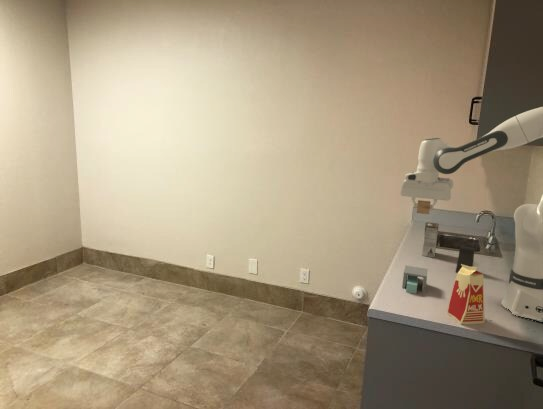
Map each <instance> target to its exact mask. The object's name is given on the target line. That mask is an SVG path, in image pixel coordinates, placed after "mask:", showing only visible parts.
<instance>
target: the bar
mask: <svg viewBox="0 0 543 409" xmlns="http://www.w3.org/2000/svg"><path fill="white" fill-rule="evenodd" d="M418 278H419V277H417V276H411V275H407V282H406V287H405V292H406V293H411V294H414V295H415V294H417V291H418V290H417V289H418V280H419V279H418Z"/></svg>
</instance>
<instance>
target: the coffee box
mask: <svg viewBox="0 0 543 409" xmlns="http://www.w3.org/2000/svg"><path fill="white" fill-rule="evenodd" d="M424 225H425V226H424V233H423V240H422V242H423V243H422V249H421V250H422V252H421V256H423V257H429V258H436V256H435V255H436V250H437V241H438V235H439V234H438V233H439V225H440V224H439V223H436V222H435V223H434V222H429V221H427V222H425V224H424Z"/></svg>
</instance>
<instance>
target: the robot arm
mask: <svg viewBox="0 0 543 409" xmlns="http://www.w3.org/2000/svg"><path fill="white" fill-rule="evenodd" d="M542 138H543V106H540V107H536V108H533V109H530V110H526V111H524V112H522V113H519V114H516V115H515V116H512V117H510V118H508V119H506V120H505V121H503V122H502V123H499V125H497V126H496V127H494V128H493V129H492V130H490V131H489V132H488V133H486V134H484V135H483V136H481V137H479V138H477V139H474V140H472V141H469V142H468V143H465V144H463V145H460V146H458V147H456V146H454V145H452V144H449V143H447V142H445V141H444V140H443V139H442V138H439V137H435V138H434V137H432V138H426V139H424V140H422V141H421V143H420V145H419V150H418V157H417V160H418V165H417V167H416V171H413V172H408V173H406V174H405V176H404V180H403V181H402V184H401V187H400V193H399V194H400V196H402V197H406V198H407V197H408V198H411V201H412V203H413V209H414V208H415V209H417V205H418V202H416V201H415V200H416V199H418V198H419V199H428V200H433V203H432V204H430V210H434V206H435V205H436V204H437V203H438V200H439V201H447V202H448V201H450V200H451V199H452V198H451V196H452V189H453V187H454V181H453V180H452V179H450V177H447V178H446V177H439V176H440V175H439V174H443V175H450V174H453V173H455V172H457V171H458V170H459V169H461V168H462V167H463V166H464V165H465V164H466V163H467V162H469V161H472V160H475V159H477V158H478V157H479V158H480V157H482V156H484V155H486V154H488V153H492V152H496V151H502V150H504V151H505V150H508V149H513V148H516V147H517V148H518V147H521V146H523V145H526V144H528V143H531V142H533V141H535V140H538V139H542ZM513 220H514V228H515V229H514V231H515V234H514V235H515V238H514V239H515V252H514V259H513V266H512V268H511V270H510V272H509V278H508V287H507V291H506V293H505V295H504V298H503V299H502V301H501V305H502V306H503V308H505V309H506V308H507V309H506V310H508V309H509V310H510V311H511V312H512V313H511V312H510V311H509V310H508V311H509V312H510V313H511V314H512V315H513V314H514V315H513V316H515V315H516V316H515V317H518V316H521V317H525V318H532V319H537V320H542V319H541V318H543V194H542V195H541V198H540V201H539V203H538V204H537V203H536V204H535V203H524V204H521V205H520V206H518V207H517V208H516V209H515V211H514V213H513ZM521 317H520V318H521ZM525 318H524V319H525Z"/></svg>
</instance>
